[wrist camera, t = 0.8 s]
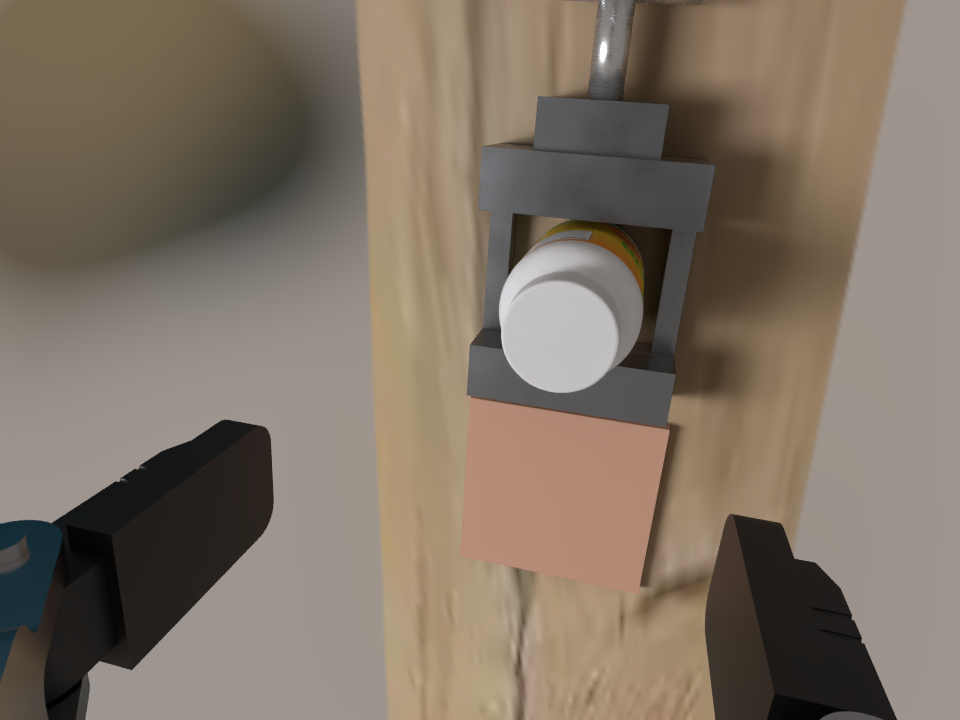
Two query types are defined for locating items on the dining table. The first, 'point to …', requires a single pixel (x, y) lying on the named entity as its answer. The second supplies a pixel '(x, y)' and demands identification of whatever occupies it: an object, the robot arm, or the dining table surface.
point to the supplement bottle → (573, 306)
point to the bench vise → (601, 198)
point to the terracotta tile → (561, 491)
